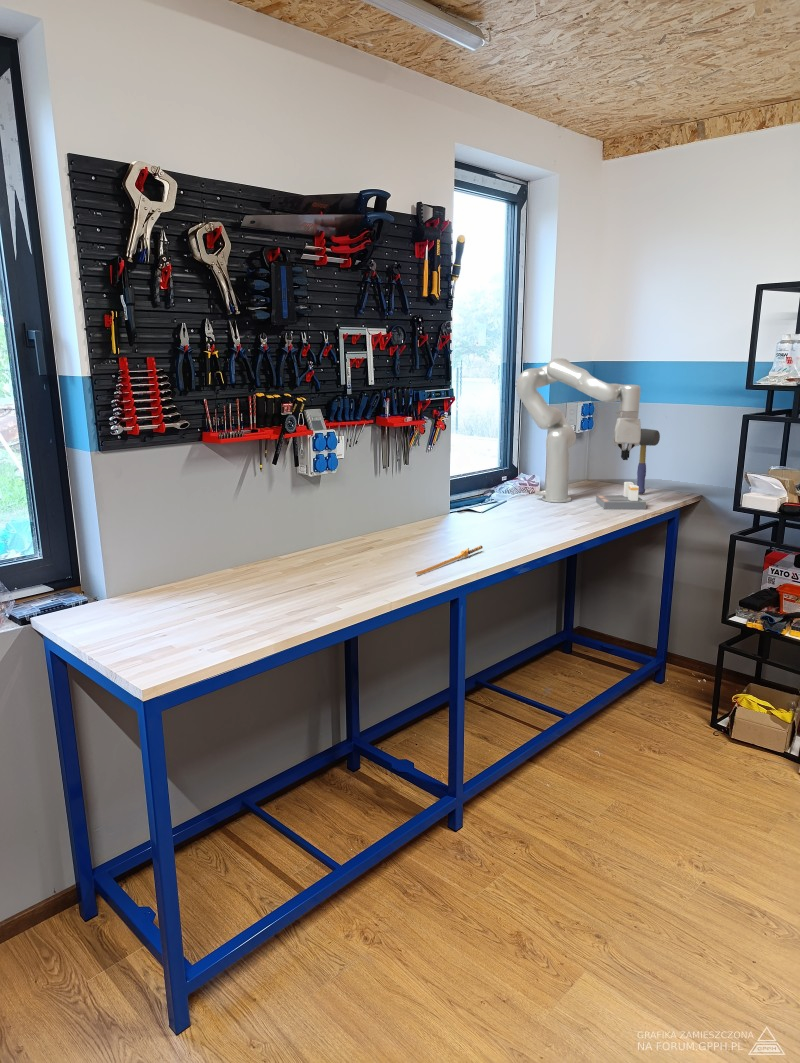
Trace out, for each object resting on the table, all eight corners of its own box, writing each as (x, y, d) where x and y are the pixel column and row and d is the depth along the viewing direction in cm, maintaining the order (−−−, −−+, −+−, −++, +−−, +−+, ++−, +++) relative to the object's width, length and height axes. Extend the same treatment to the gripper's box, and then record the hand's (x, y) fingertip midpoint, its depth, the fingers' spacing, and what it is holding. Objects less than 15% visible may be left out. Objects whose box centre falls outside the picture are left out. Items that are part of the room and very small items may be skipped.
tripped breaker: (630, 500, 298) (631, 486, 297) (627, 499, 302) (628, 484, 301) (637, 500, 298) (638, 486, 297) (635, 499, 302) (636, 484, 301)
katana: (414, 580, 209) (413, 571, 208) (479, 550, 235) (479, 542, 234) (417, 580, 208) (417, 571, 207) (482, 551, 234) (482, 543, 233)
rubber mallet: (623, 494, 331) (627, 428, 324) (631, 491, 336) (635, 427, 329) (649, 497, 323) (654, 430, 316) (656, 495, 328) (661, 428, 321)
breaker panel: (604, 509, 298) (605, 487, 296) (596, 501, 314) (597, 481, 311) (645, 509, 297) (647, 487, 295) (635, 502, 312) (637, 481, 310)
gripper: (611, 415, 292) (608, 460, 297) (649, 416, 291) (645, 461, 295) (608, 414, 299) (604, 458, 304) (645, 414, 298) (640, 458, 303)
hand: (624, 459), depth 300 cm, fingers closed
